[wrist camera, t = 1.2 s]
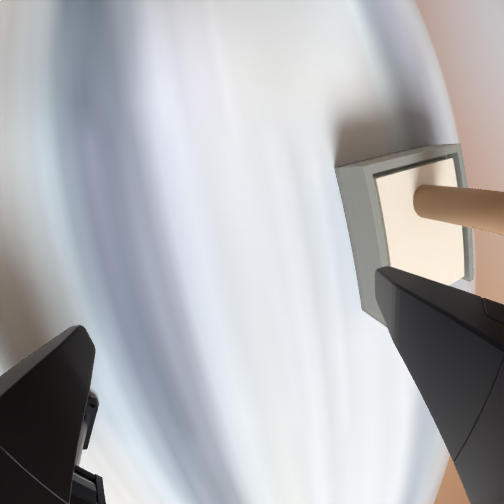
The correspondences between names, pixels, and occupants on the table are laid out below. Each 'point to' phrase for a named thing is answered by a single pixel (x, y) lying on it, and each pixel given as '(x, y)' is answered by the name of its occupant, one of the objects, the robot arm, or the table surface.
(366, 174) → the box
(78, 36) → the table surface
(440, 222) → the cover plate
